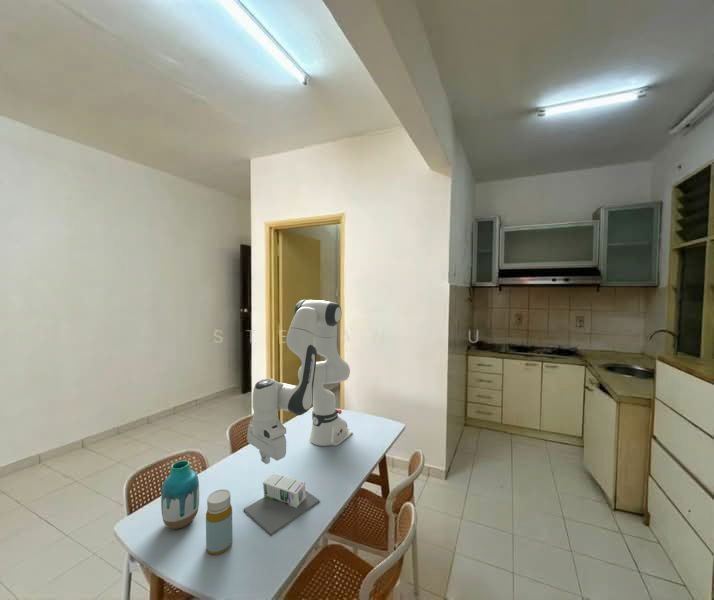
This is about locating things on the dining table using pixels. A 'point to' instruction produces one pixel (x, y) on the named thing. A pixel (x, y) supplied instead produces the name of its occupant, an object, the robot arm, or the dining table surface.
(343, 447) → the dining table surface
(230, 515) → the bottle
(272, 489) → the syrup box
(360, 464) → the dining table surface
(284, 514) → the mat
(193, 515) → the vase
